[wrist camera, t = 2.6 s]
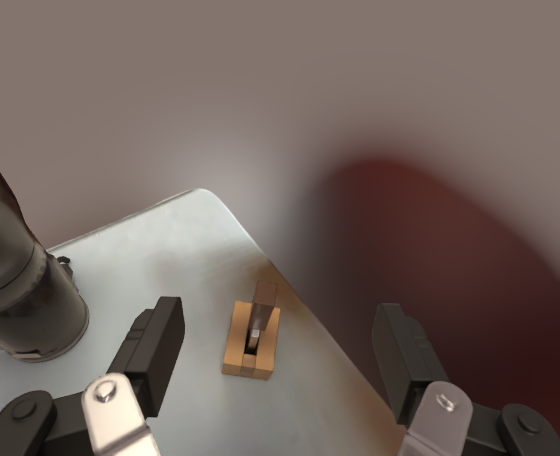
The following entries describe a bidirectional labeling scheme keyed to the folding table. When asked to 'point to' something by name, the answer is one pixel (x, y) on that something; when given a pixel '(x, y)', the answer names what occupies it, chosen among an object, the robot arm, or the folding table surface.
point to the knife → (260, 312)
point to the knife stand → (264, 349)
